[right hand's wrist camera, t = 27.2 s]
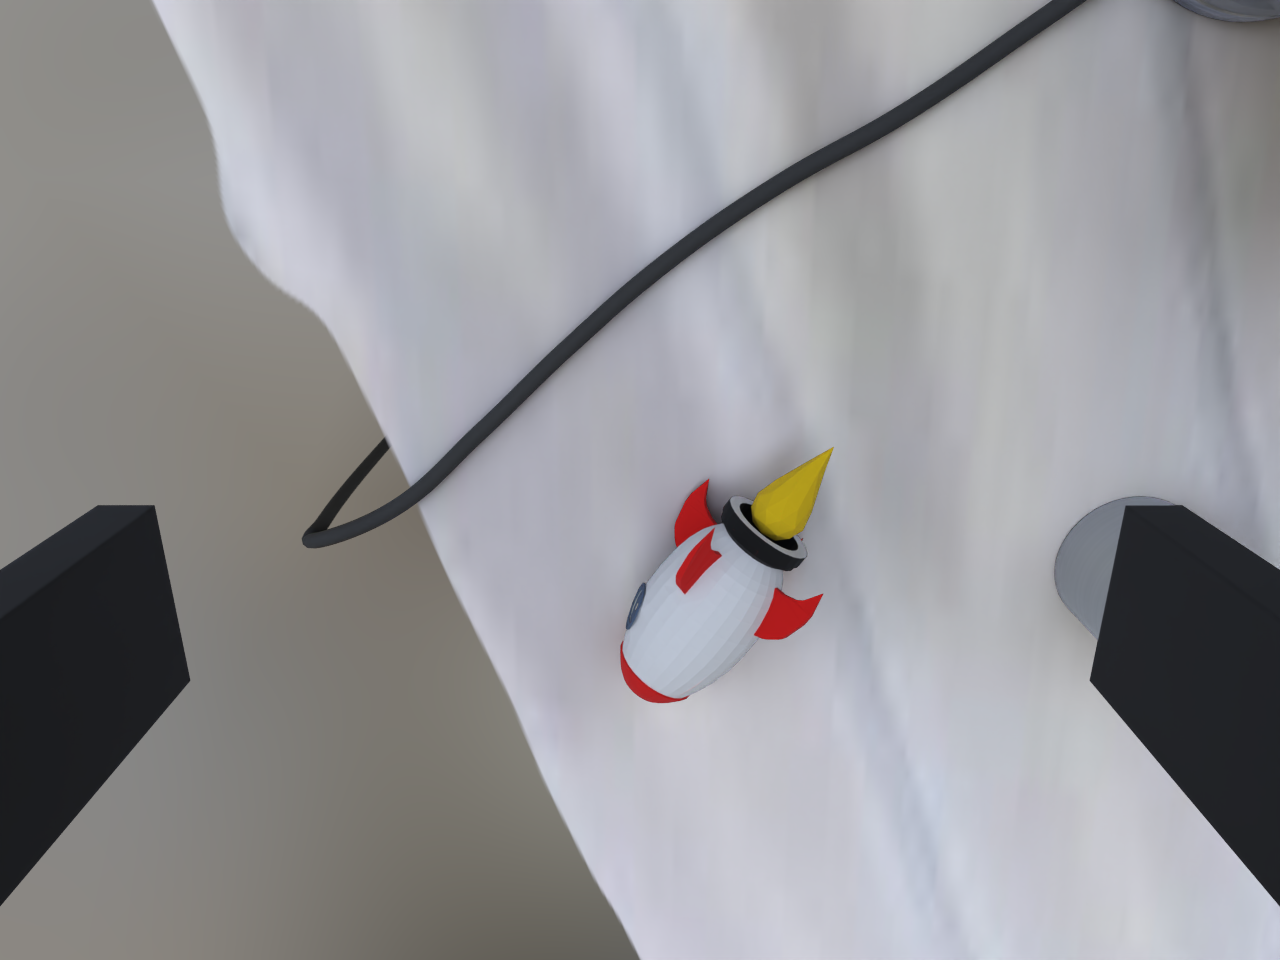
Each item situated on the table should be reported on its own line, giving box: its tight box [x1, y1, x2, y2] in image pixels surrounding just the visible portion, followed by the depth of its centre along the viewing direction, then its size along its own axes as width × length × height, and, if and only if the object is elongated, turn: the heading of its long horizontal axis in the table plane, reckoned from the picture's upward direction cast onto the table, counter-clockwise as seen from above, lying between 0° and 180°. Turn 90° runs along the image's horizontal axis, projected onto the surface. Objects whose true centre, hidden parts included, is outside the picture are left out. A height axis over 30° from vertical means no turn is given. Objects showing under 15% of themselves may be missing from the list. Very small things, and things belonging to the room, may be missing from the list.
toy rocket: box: [620, 447, 834, 703], centre depth 53 cm, size 9×10×20 cm
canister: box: [1055, 497, 1174, 640], centre depth 51 cm, size 9×9×12 cm
